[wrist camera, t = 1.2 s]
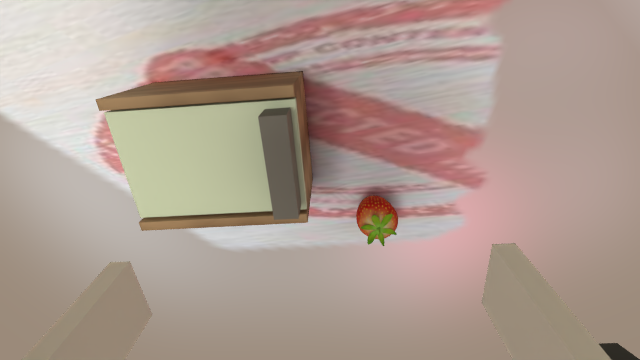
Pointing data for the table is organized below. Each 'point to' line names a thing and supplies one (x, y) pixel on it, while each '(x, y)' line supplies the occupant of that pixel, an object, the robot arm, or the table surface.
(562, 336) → the robot arm
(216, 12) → the table surface
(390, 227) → the fruit
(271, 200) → the lid
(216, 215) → the box
